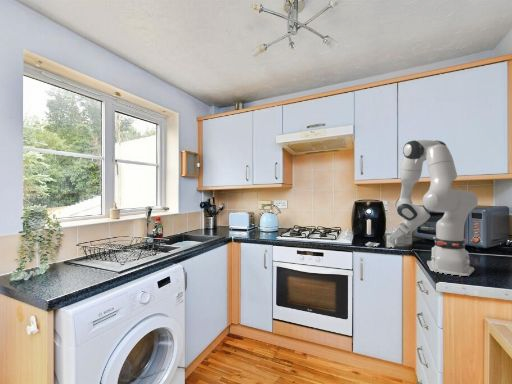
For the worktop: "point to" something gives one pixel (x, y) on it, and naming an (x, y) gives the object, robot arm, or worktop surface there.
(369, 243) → the mounting pad
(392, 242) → the grey module
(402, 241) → the light bulb box
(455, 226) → the robot arm
